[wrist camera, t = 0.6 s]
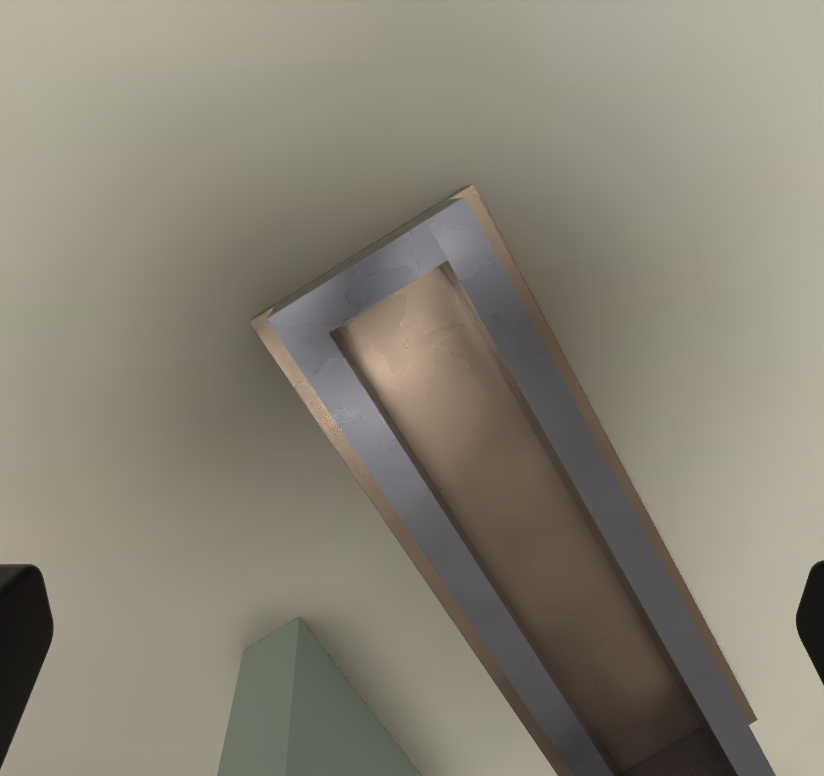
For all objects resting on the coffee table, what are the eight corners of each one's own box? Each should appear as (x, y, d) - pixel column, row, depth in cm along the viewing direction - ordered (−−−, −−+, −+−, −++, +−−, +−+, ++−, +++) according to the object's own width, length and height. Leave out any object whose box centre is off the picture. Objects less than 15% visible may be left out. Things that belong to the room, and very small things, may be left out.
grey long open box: (578, 797, 27) (613, 878, 24) (253, 317, 21) (237, 336, 17) (742, 702, 27) (800, 770, 24) (466, 186, 20) (493, 178, 17)
